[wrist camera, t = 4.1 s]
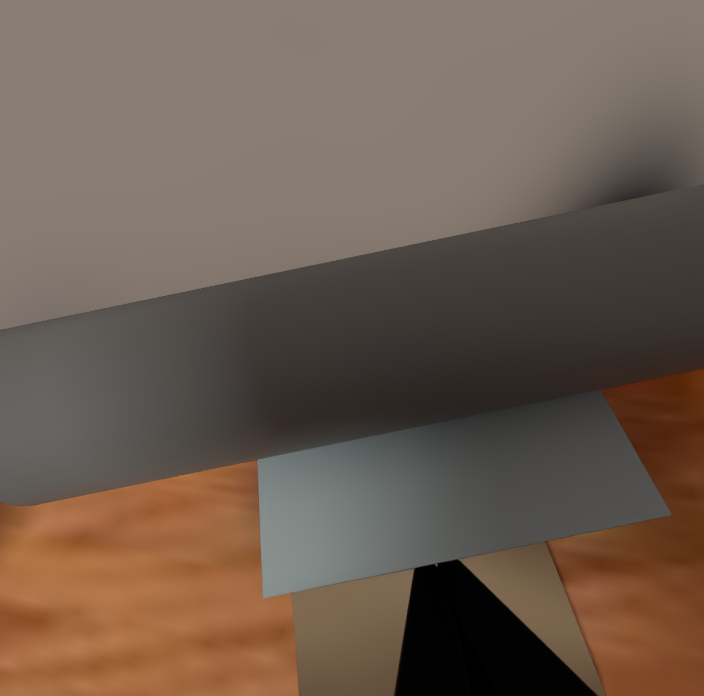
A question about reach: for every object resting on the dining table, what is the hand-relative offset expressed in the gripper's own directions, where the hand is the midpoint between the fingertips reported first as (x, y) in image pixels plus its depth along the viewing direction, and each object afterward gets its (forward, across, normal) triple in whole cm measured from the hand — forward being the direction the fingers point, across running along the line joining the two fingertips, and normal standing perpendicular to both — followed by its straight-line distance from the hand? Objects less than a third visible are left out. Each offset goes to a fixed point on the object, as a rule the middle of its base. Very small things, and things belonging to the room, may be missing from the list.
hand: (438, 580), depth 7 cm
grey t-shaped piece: (+7, 0, +4) cm, 8 cm away
